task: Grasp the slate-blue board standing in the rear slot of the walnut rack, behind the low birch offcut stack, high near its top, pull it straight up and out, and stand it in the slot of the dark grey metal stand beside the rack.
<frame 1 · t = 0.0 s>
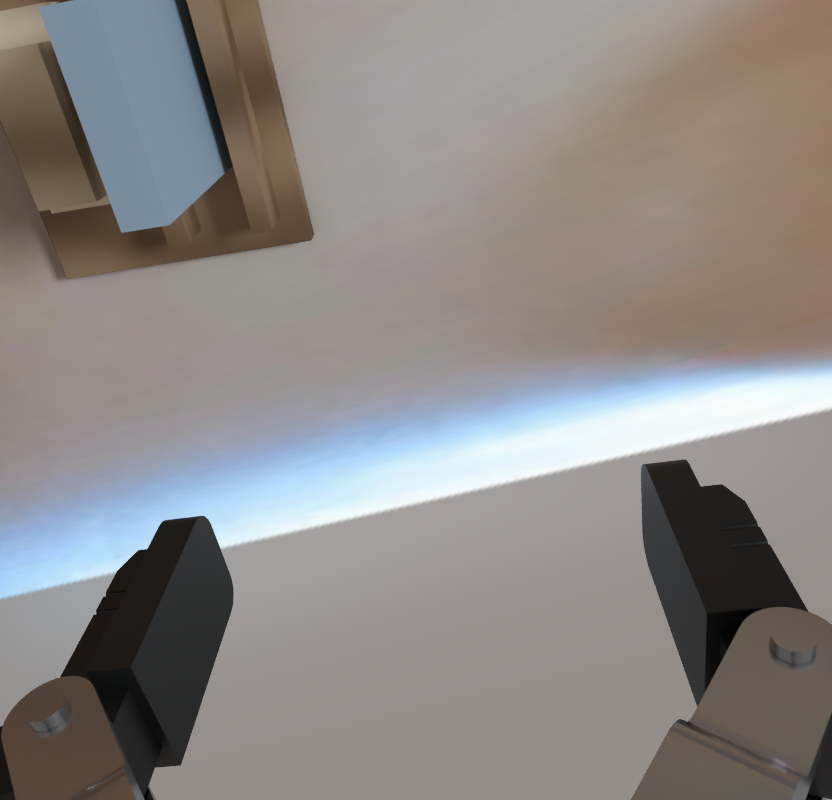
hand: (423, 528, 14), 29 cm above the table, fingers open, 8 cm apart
offcut rack: (139, 93, 38), on the table
tall sheet: (190, 85, 37), point 1 cm above the table, touching offcut rack
offcut stack: (66, 108, 37), point 1 cm above the table, touching offcut rack
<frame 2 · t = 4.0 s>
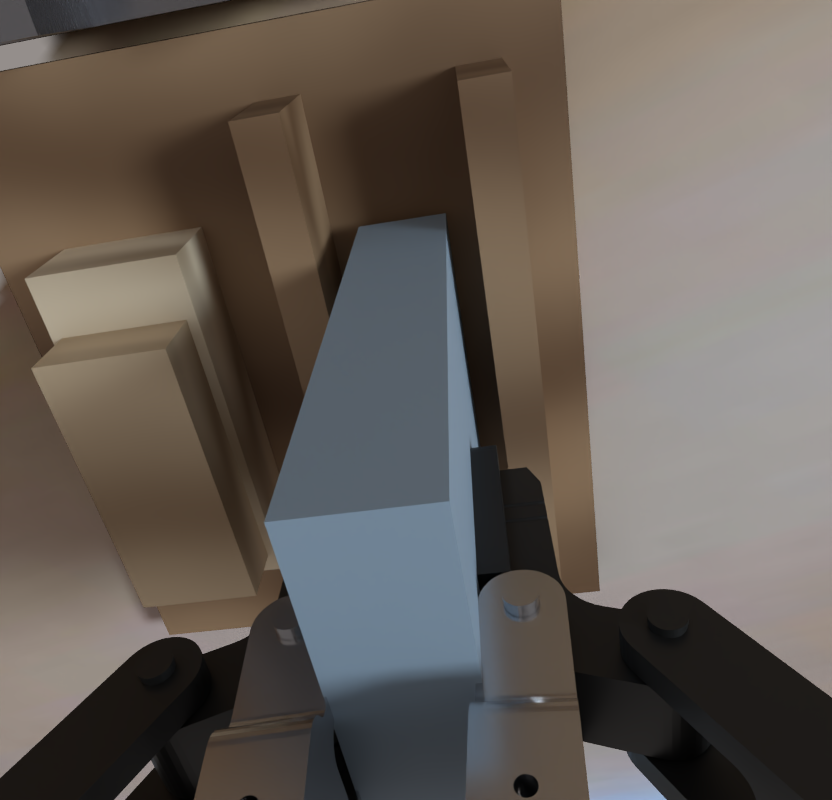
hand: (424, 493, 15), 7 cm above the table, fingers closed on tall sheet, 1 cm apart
offcut rack: (321, 364, 21), on the table
tall sheet: (429, 374, 19), point 2 cm above the table, touching gripper
offcut stack: (190, 399, 20), point 1 cm above the table, touching offcut rack
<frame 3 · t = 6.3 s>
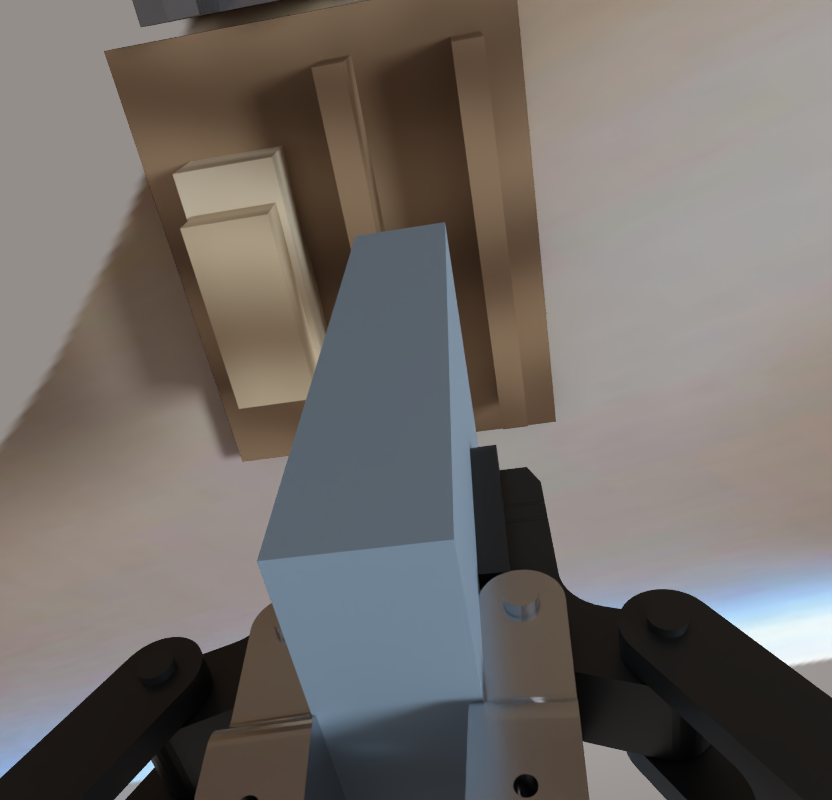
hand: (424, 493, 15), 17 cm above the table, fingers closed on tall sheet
offcut rack: (358, 249, 30), on the table
tall sheet: (428, 386, 19), point 13 cm above the table, touching gripper
offcut stack: (268, 271, 29), point 1 cm above the table, touching offcut rack
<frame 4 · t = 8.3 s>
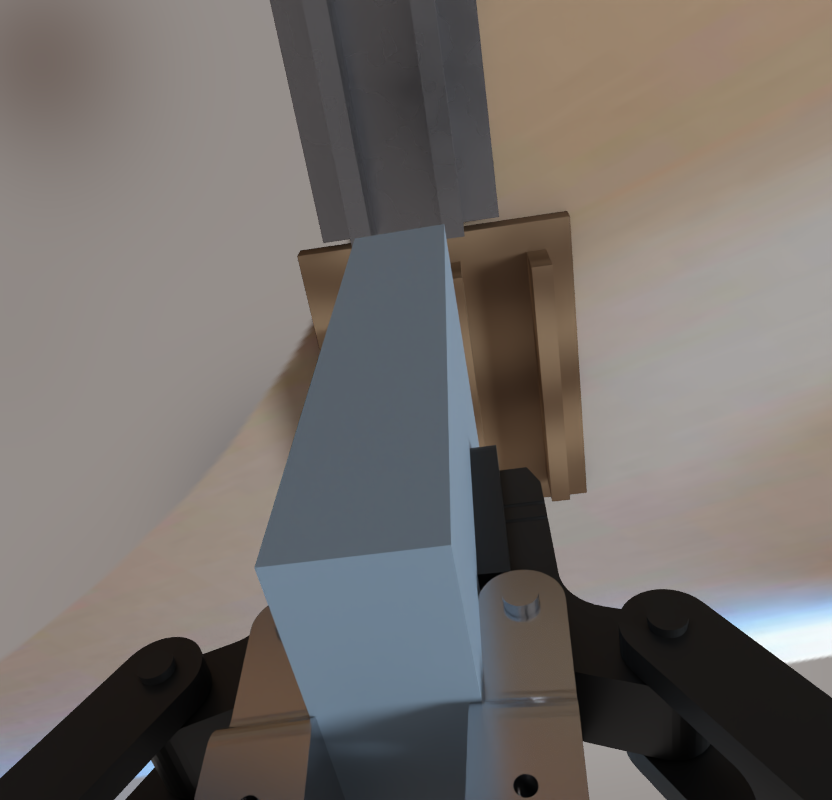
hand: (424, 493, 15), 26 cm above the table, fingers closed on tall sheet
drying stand: (390, 102, 36), on the table
offcut rack: (453, 375, 43), on the table
tall sheet: (428, 388, 19), point 22 cm above the table, touching gripper
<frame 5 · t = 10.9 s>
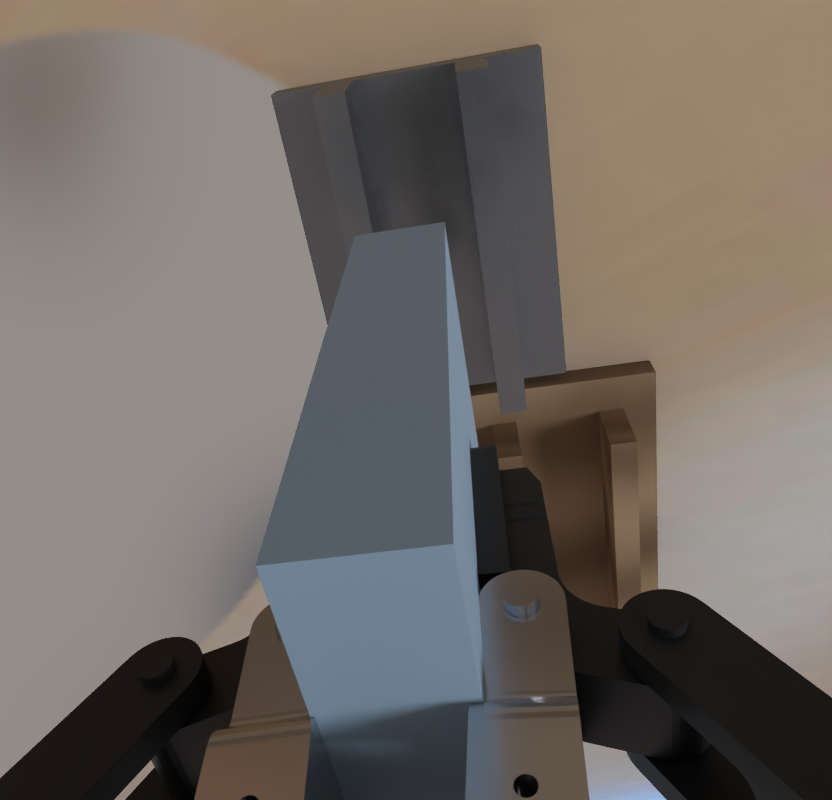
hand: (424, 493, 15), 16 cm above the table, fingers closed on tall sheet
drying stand: (432, 237, 28), on the table
offcut rack: (501, 538, 36), on the table
tall sheet: (428, 386, 18), point 12 cm above the table, touching gripper
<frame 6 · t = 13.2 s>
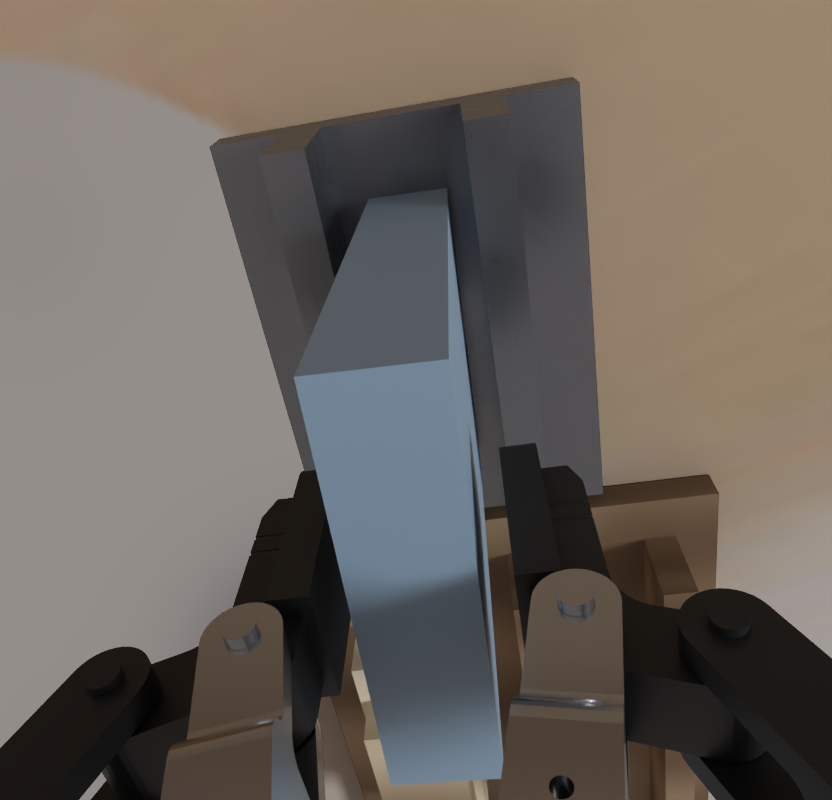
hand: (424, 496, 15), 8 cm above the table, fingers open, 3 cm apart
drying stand: (429, 325, 22), on the table
offcut rack: (516, 675, 29), on the table
tall sheet: (429, 339, 21), point 1 cm above the table, touching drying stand
offcut stack: (426, 705, 28), point 1 cm above the table, touching offcut rack
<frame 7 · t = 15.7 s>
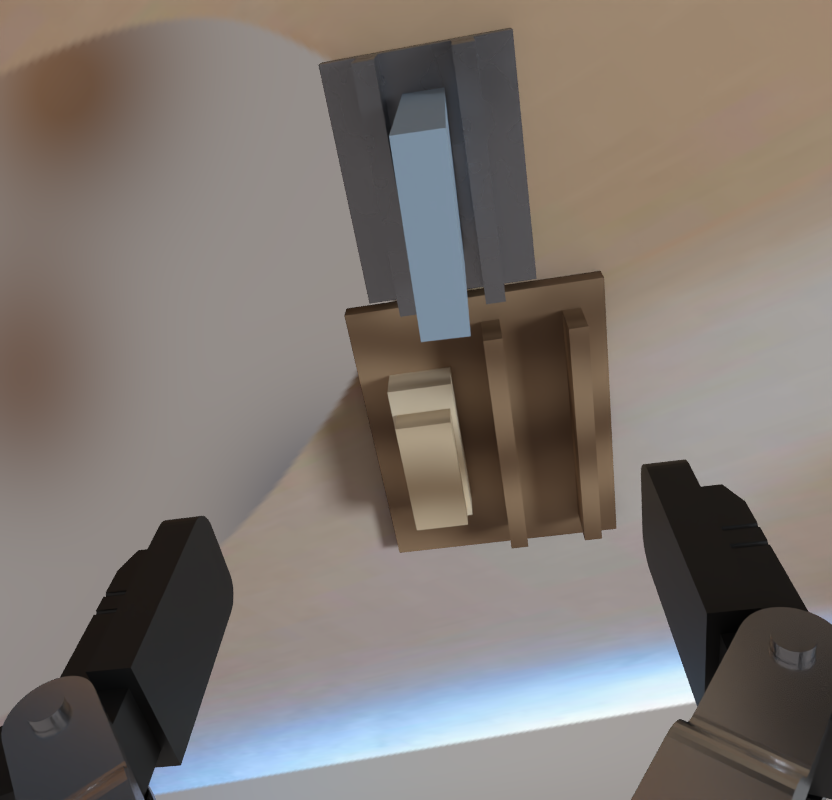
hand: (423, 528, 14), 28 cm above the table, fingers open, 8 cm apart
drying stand: (434, 173, 38), on the table
offcut rack: (489, 421, 45), on the table
tall sheet: (434, 176, 37), point 1 cm above the table, touching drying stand
offcut stack: (432, 437, 45), point 1 cm above the table, touching offcut rack
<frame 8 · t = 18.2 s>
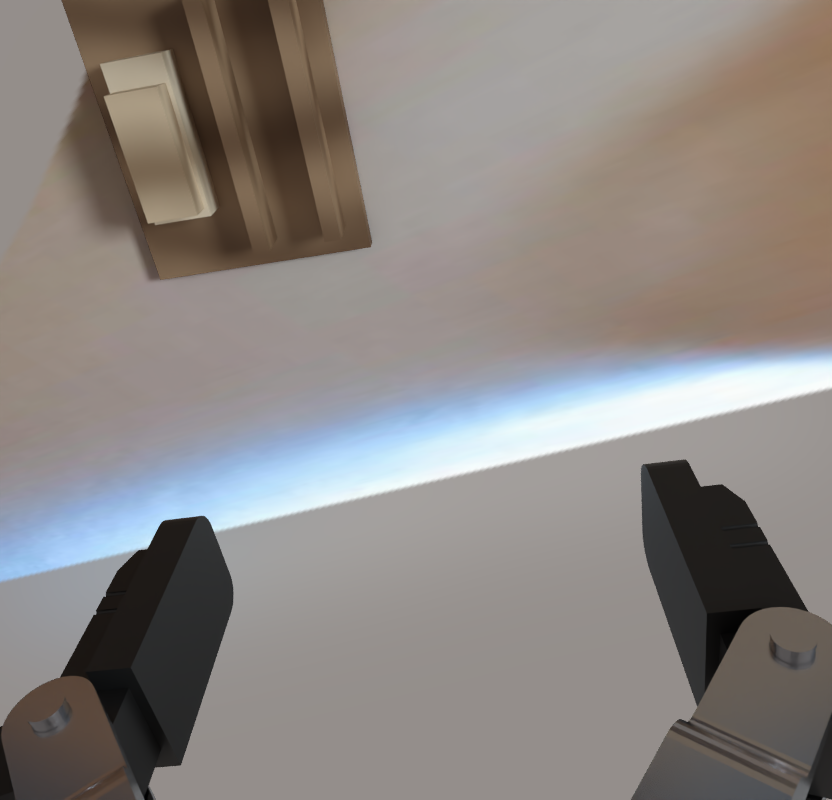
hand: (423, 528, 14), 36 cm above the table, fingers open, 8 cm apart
offcut rack: (229, 123, 45), on the table
offcut stack: (169, 136, 45), point 1 cm above the table, touching offcut rack
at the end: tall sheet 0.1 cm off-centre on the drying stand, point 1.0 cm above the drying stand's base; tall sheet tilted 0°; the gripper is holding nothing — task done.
